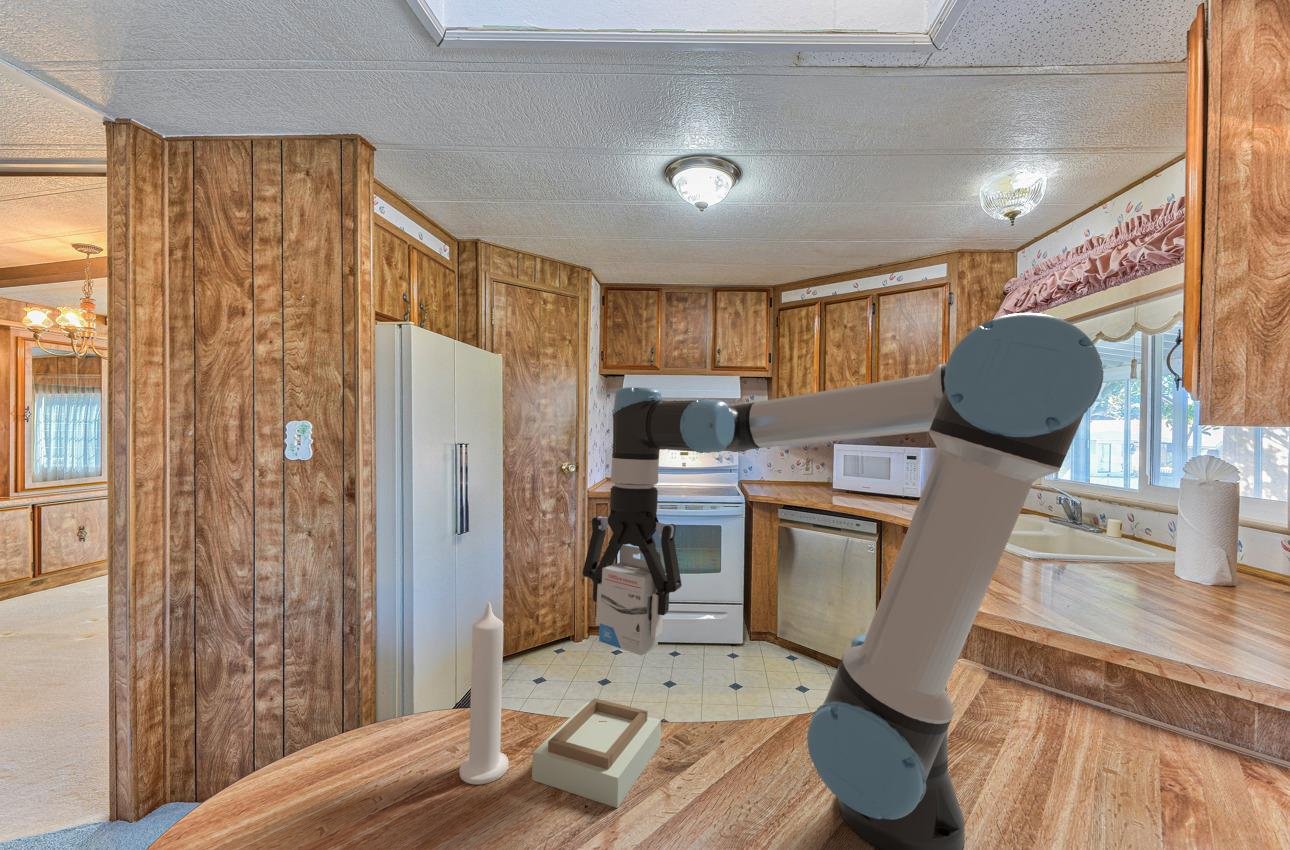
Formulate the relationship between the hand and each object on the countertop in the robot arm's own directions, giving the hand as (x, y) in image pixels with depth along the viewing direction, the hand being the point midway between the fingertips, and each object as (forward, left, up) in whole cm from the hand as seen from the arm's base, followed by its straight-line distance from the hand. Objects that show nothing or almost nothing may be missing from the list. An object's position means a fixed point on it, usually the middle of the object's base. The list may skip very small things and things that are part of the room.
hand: (628, 628), depth 79 cm
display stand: (+4, +2, -20) cm, 21 cm away
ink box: (0, 0, -3) cm, 3 cm away
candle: (+19, +11, -21) cm, 30 cm away
